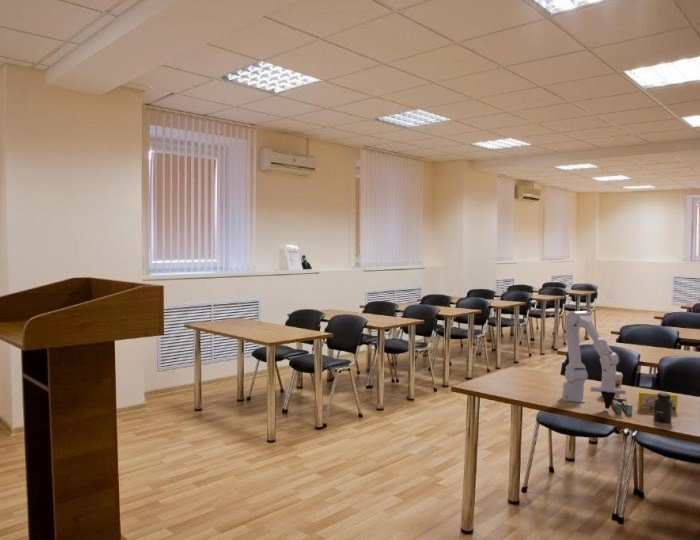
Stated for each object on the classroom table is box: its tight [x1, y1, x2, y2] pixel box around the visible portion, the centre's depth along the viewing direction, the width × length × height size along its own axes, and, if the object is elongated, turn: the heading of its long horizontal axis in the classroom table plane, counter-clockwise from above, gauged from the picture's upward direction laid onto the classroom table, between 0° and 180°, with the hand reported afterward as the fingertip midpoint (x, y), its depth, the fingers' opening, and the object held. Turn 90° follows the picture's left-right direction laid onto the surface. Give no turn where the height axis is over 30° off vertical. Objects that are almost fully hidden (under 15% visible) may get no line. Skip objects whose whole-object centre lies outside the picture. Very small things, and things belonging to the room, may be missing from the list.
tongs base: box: [610, 396, 633, 416], centre depth 253 cm, size 7×17×4 cm, turn 164°
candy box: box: [637, 391, 678, 413], centre depth 252 cm, size 16×2×8 cm, turn 80°
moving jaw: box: [611, 400, 623, 415], centre depth 252 cm, size 2×12×4 cm, turn 163°
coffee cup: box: [614, 370, 624, 398], centre depth 277 cm, size 9×9×12 cm
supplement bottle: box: [653, 392, 673, 424], centre depth 236 cm, size 7×7×12 cm
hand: (607, 408), depth 250 cm, fingers closed
